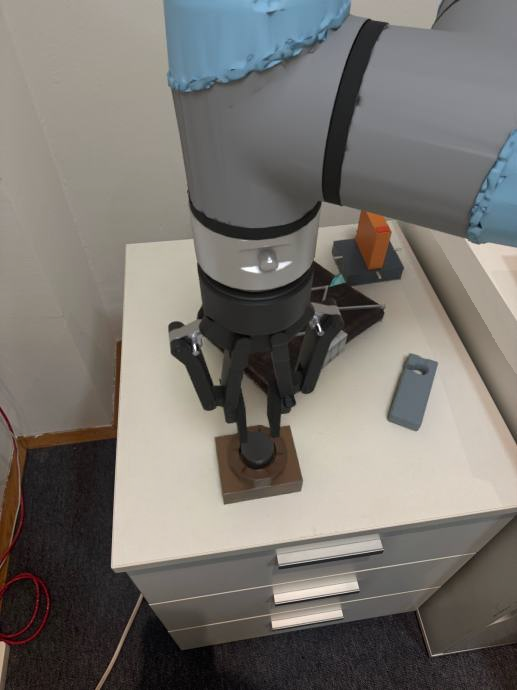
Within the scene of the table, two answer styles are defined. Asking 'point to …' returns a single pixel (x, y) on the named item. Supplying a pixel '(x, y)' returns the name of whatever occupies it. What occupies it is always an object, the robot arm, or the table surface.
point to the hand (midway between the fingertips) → (257, 428)
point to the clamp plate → (364, 264)
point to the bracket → (413, 392)
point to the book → (352, 308)
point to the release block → (258, 482)
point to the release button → (257, 450)
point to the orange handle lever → (372, 239)
